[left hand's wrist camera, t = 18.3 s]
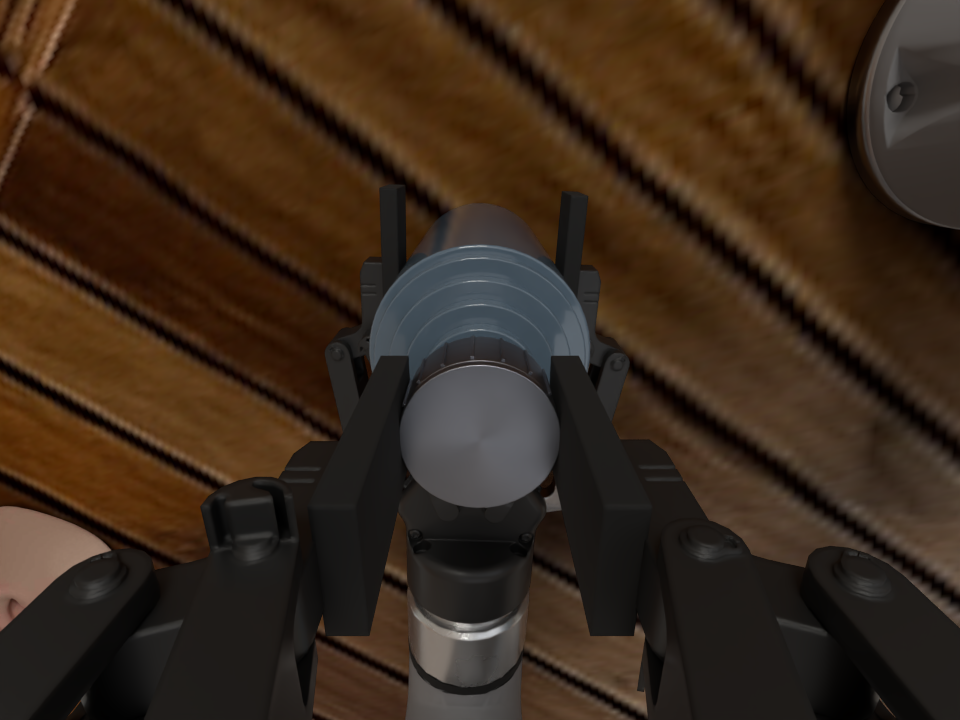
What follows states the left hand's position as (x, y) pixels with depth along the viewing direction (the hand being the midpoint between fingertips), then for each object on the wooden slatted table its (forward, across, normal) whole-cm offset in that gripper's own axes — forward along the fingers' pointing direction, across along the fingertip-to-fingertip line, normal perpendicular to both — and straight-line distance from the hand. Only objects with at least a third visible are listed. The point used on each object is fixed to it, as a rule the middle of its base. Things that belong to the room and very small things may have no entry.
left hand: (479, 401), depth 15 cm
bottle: (+18, 0, 0) cm, 18 cm away
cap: (-2, 0, 0) cm, 2 cm away
